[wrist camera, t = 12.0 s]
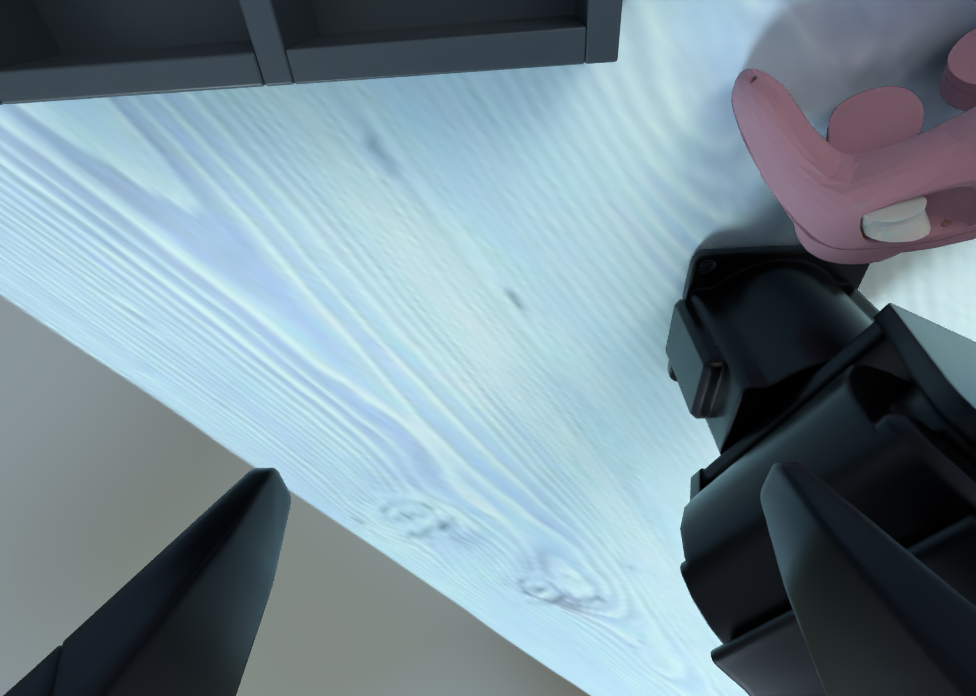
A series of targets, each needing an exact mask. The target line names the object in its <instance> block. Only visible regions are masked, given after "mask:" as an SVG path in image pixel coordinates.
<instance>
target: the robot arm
mask: <svg viewBox="0 0 976 696" xmlns="http://www.w3.org/2000/svg"><path fill="white" fill-rule="evenodd" d="M706 260H710V262H709V264H708V265H706V266H703V267H700V265H701V263H702V262H704V261H706ZM869 264H870V263H867V264H839V263H834V262H828V261H825V260H823V259H820V258H818V257H816V256H814V255H813V254H811V253H810V252H808V251H807V250H806V249H805V248H804V246H803V245H798V246H774V247H750V248H726V249H705V250H701V251H699V252H697V253H696V254H695V255H694V256H693V257H692V259H691V261H690V265H689V270H688V274H687V279H686V284H685V288H684V293H683V298H682V299H680V300H679V301H678V302H677V303H676V304H675V306H674V311H673V316H672V321H671V326H670V331H669V336H668V341H667V346H666V352H667V355H668V357H669V364H668V373H669V375H670V377H671V379H672V380H674V381H678V383H679V386H680V388H681V391H682V394H683V396H684V399H685V401H686V404H687V407H688V409H689V412H690V413H691V414H692V415H693V416H694V417H695V418H697V419H698V418H705V419H706V421H707V423H708V426H709V428H710V431H711V433H712V435H713V438H714V440H715V443H716V445H717V447H718V450H719V452H720V455H721V456H719V457H718V458H717V459H716V460H715V461H714V462H713V463H711V464H710V465H709V466H708V467H707V468H706V469H700V470H699V471H698V472H697V473H695V474H694V475H693V476H692V477H691V490H690V502H689V503H688V504H687V506H686V507H685V508H684V513H683V518H682V523H681V528H680V529H681V536H682V543H683V549H684V556H685V559H686V561H684V562H683V563H681V567H680V569H681V574H682V577H683V579H684V581H685V584H686V586H687V588H688V590H689V593H690V595H691V597H692V600H693V601H694V603H695V605H696V606H697V608H698V610H699V611H700V613H701V615H702V616H703V618H704V619H705V621H706V623H707V624H708V626H709V627H710V628H711V630H712V631H713V632H714V633H715V635H716V636H717V637H718V638H719V640H720V641H721V642H722V643H723V645H721V646H719V647H717V648H715V649H713V650H712V651H711V657H712V660H713V662H714V663H715V665H716V666H717V667H719V668H720V669H721V670H722V671H723V672H724V673H725V674H727V675H728V676H729V677H730V678H731V679H732V680H733V681H735V682H736V683H737V684H738V685H739V686H740V687H741V688H743V689H744V690H745V691H746V692H747V694H748V695H749V696H976V342H974V341H972V340H970V339H968V338H966V337H964V336H961V335H959V334H957V333H955V332H953V331H951V330H948V329H946V328H944V327H942V326H940V325H938V324H935V323H933V322H931V321H929V320H927V319H925V318H922V317H920V316H918V315H916V314H914V313H912V312H909V311H907V310H905V309H903V308H901V307H899V306H896V305H894V304H892V303H889V304H888V305H887V306H885V307H884V308H883V309H882V310H881V311H879V310H878V309H877V308H876V307H874V306H873V305H872V304H871V303H870V302H869V301H868V300H867V299H866V298H865V297H864V296H863V295H862V294H861V293H860V292H859V291H858V290H857V289H858V287H859V285H860V283H861V281H862V279H863V277H864V274H865V272H866V270H867V268H868V266H869ZM290 504H291V497H290V493H289V490H288V489H287V487H286V485H285V483H284V481H283V479H282V477H281V476H280V474H279V472H278V471H277V470H276V469H275V468H255V469H252V470H251V471H249V472H248V473H247V474H246V475H245V476H244V477H243V478H242V479H240V480H239V481H238V482H237V483H236V484H235V485H234V486H233V487H232V488H231V489H229V490H228V491H227V492H226V493H225V494H224V495H223V496H222V497H221V498H220V499H219V500H218V501H216V502H215V503H214V504H213V505H212V506H211V507H210V508H209V509H208V510H207V511H205V512H204V513H203V514H202V515H201V516H200V517H199V518H198V519H197V520H196V521H195V522H193V523H192V524H191V525H190V526H189V527H188V528H187V529H186V530H185V531H184V532H182V533H181V534H180V535H179V536H178V537H177V538H176V539H175V540H174V541H173V542H172V543H171V544H169V545H168V546H167V547H166V548H165V549H164V550H163V551H162V552H161V553H160V554H159V555H157V556H156V557H155V558H154V559H153V560H152V561H151V562H150V563H149V564H148V565H147V566H145V567H144V568H143V569H142V570H141V571H140V572H139V573H138V574H137V575H136V576H134V577H133V578H132V579H131V580H130V581H129V582H128V583H127V584H126V585H125V586H124V587H123V588H121V589H120V590H119V591H118V592H117V593H116V594H115V595H114V596H113V597H112V598H111V599H109V600H108V601H107V602H106V603H105V604H104V605H103V606H102V607H101V608H99V609H98V610H97V611H96V612H95V613H94V614H93V615H92V616H91V617H90V618H89V619H88V620H86V621H85V622H84V623H83V624H82V625H81V626H80V627H79V628H78V629H77V630H75V631H74V632H73V633H72V634H71V635H70V636H69V637H68V638H67V639H66V640H65V641H64V642H63V645H62V646H58V647H57V648H56V649H54V651H52V652H51V653H50V654H49V655H48V656H47V657H46V658H45V659H44V660H42V662H40V663H39V664H38V665H37V666H36V667H35V668H34V669H33V670H32V671H30V672H29V673H28V674H27V675H26V676H25V677H24V678H22V679H21V680H20V681H19V682H18V683H17V684H16V685H15V686H14V687H12V688H11V689H10V690H9V691H8V692H7V693H6V694H4V695H3V696H236V694H237V691H238V688H239V685H240V682H241V679H242V676H243V673H244V670H245V667H246V664H247V661H248V658H249V655H250V652H251V649H252V646H253V643H254V640H255V637H256V634H257V631H258V628H259V625H260V622H261V619H262V616H263V613H264V610H265V607H266V604H267V601H268V597H269V594H270V591H271V587H272V584H273V581H274V577H275V573H276V568H277V564H278V559H279V555H280V550H281V546H282V541H283V536H284V532H285V528H286V522H287V519H288V514H289V509H290Z"/></svg>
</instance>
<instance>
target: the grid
mask: <svg viewBox="0 0 976 696" xmlns="http://www.w3.org/2000/svg"><path fill="white" fill-rule="evenodd" d="M621 11H622V0H0V105H2V104H17V103H32V102H46V101H60V100H74V99H89V98H103V97H117V96H131V95H146V94H160V93H174V92H188V91H202V90H217V89H231V88H245V87H259V86H264V85H267V86H276V85H290V84H294V83H296V84H305V83H320V82H334V81H348V80H362V79H377V78H391V77H405V76H419V75H434V74H448V73H462V72H476V71H491V70H505V69H519V68H533V67H548V66H562V65H576V64H583V63H584V62H585V63H587V64H591V63H605V62H615V61H617V59H618V47H619V35H620V23H621Z"/></svg>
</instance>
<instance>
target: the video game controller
mask: <svg viewBox="0 0 976 696" xmlns="http://www.w3.org/2000/svg"><path fill="white" fill-rule="evenodd" d="M940 94H941V96H942V98H943V99H944V100H945V102H946V103H948V104H949V105H951V106H953V107H954V108H956V109H960V110H963V111H966V112H964V113H962V114H960V115H958V116H956V117H954V118H952V119H950V120H948V121H946V122H944V123H942V124H940V125H938V126H936V127H934V128H932V129H930V130H928V131H925V132H923V133H921V134H920V132H921V129H922V125H923V120H924V108H923V105H922V102H921V101H920V99H919V98H918V97H917V96H916V95H915V94H914V93H912V92H911V91H909V90H908V89H905V88H901V87H893V86H888V87H880V88H874V89H869V90H867V91H864V92H861V93H859V94H856V95H854V96H852V97H850V98H849V99H847V100H845V101H844V102H843V103H841V104H840V105H839V106H838V107H837V108H836V109H835V110H834V112H833V114H832V115H831V117H830V122H829V126H828V128H827V136H826V140H825V139H824V138H823V137H822V136H821V135H820V134H819V133H818V132H817V131H816V130H815V129H814V128H813V127H812V126H811V124H810V123H809V121H808V120H807V118H806V117H805V116H804V114H803V113H802V111H801V110H800V108H799V107H798V105H797V104H796V103H795V101H794V100H793V98H792V97H791V95H790V94H789V93H788V91H787V90H786V88H785V87H784V86H783V85H781V84H780V83H779V82H778V81H776V80H775V79H774V78H772V77H771V76H770V75H769V74H766V73H764V72H762V71H759V70H757V69H746V70H744V71H743V72H741V73H740V74H739V75H738V77H737V79H736V80H735V84H734V87H733V92H732V106H733V111H734V114H735V118H736V121H737V124H738V127H739V130H740V133H741V136H742V138H743V140H744V142H745V145H746V147H747V149H748V152H749V154H750V155H751V157H752V159H753V161H754V162H755V164H756V166H757V168H758V169H759V171H760V174H761V176H762V178H763V179H764V181H765V182H766V184H767V185H768V187H769V188H770V190H771V191H772V193H773V194H774V196H775V197H776V199H777V200H778V201H779V203H780V204H781V206H782V207H783V208H784V210H785V211H786V213H787V214H788V216H789V217H790V219H791V220H792V221H793V223H794V227H795V232H796V235H797V237H798V239H799V241H800V242H801V244H802V245H803V246H804V248H805V249H806V250H807V251H808V252H810V253H811V254H813V255H814V256H816V257H818V258H820V259H823V260H825V261H828V262H834V263H839V264H867V263H873V262H879V261H882V260H885V259H888V258H890V257H893V256H895V255H897V254H899V253H901V252H909V251H917V250H924V249H931V248H936V247H940V246H945V245H949V244H954V243H958V242H963V241H967V240H971V239H975V238H976V28H974V29H973V30H971V31H970V32H968V33H967V34H965V35H964V36H963V37H962V38H961V39H960V40H959V41H958V42H957V43H956V44H955V45H954V46H953V48H952V49H951V51H950V53H949V55H948V60H947V63H946V66H945V69H944V73H943V76H942V79H941V83H940Z"/></svg>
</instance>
